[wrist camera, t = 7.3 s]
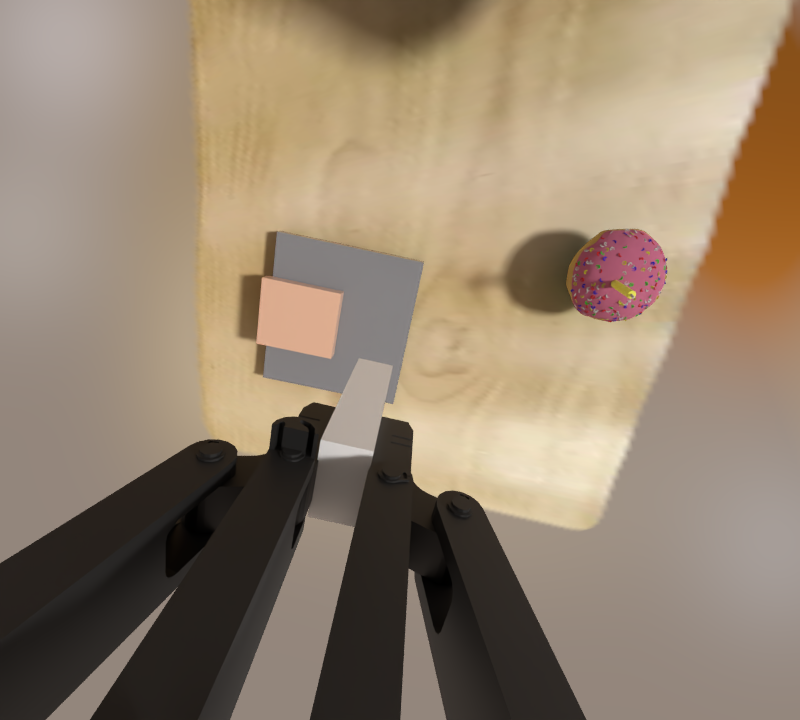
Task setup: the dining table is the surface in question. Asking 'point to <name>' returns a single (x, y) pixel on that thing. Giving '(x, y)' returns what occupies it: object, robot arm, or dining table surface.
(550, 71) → the dining table surface
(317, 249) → the board
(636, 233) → the cupcake
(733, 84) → the dining table surface
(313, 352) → the tile
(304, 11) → the dining table surface
